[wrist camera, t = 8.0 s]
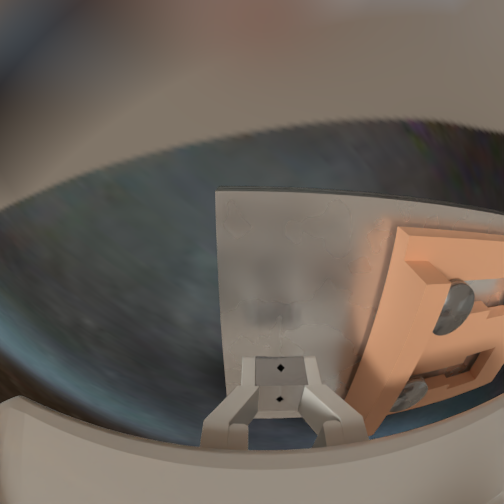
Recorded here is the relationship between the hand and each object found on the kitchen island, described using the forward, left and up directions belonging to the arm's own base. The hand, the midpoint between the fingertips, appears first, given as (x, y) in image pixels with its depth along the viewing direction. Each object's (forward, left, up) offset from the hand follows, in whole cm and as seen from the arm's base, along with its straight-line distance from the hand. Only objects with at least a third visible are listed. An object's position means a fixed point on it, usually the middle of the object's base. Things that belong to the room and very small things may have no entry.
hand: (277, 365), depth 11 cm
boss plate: (0, -9, -3) cm, 9 cm away
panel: (0, -12, -1) cm, 12 cm away
